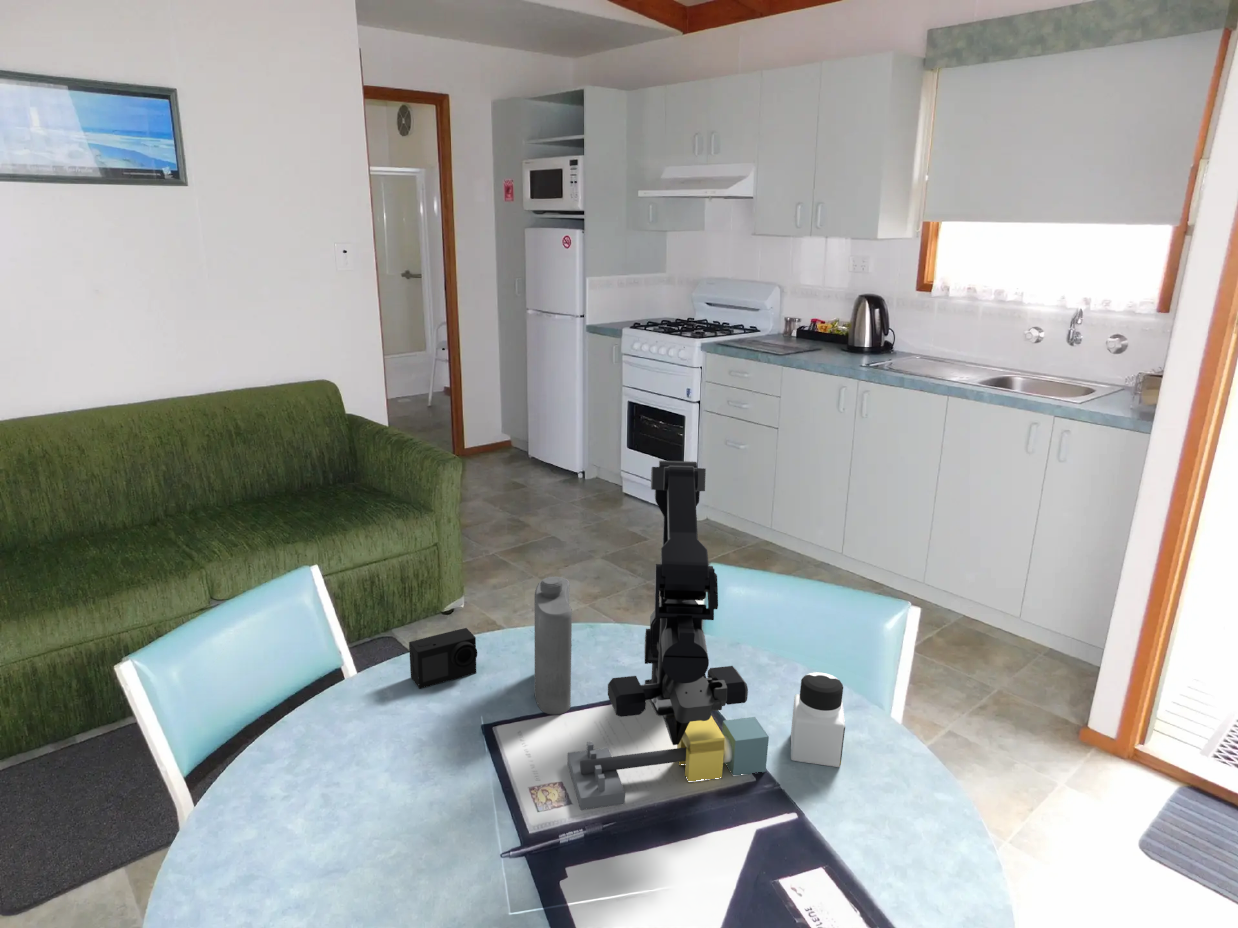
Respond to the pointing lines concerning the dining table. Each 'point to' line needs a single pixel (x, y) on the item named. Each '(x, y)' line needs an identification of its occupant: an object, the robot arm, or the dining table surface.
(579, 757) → the grey pronged block
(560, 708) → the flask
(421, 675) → the digital camera
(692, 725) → the sleeve
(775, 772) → the dining table surface
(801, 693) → the medicine bottle
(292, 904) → the dining table surface
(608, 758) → the dark grey rod
